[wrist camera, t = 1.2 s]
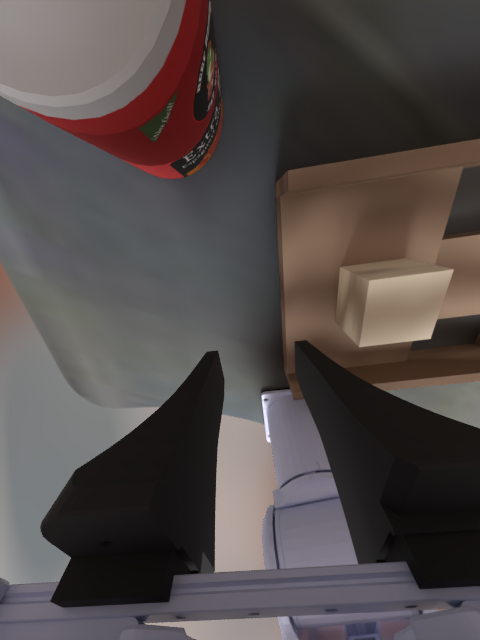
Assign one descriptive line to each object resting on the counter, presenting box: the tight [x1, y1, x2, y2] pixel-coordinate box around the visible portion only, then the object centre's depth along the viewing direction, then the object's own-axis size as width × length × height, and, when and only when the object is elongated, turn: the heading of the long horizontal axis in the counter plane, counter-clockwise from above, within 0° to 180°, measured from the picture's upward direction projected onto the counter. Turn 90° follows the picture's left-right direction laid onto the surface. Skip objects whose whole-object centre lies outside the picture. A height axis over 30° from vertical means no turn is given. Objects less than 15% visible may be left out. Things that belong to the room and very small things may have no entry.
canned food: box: [0, 0, 223, 179], centre depth 8 cm, size 8×8×11 cm
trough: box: [275, 139, 480, 400], centre depth 16 cm, size 18×29×4 cm, turn 98°
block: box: [335, 258, 454, 347], centre depth 15 cm, size 5×5×4 cm
